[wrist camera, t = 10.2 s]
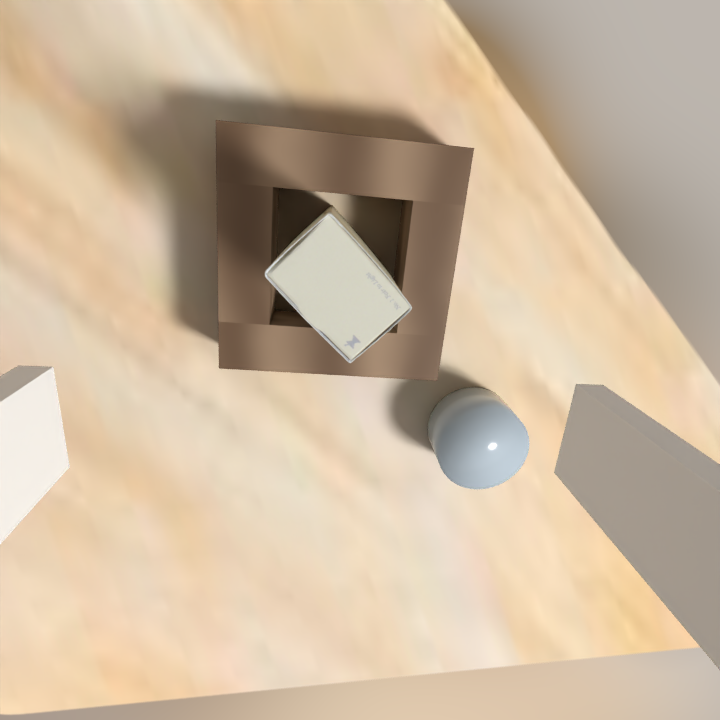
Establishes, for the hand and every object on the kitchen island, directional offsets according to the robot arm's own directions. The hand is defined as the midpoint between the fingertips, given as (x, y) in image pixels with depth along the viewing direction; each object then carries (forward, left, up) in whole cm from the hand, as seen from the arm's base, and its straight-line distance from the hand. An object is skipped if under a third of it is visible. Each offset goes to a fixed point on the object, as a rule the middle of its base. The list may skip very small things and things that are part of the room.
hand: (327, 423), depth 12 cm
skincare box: (+1, +1, -23) cm, 23 cm away
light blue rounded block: (+13, -12, -23) cm, 29 cm away
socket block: (+1, +1, -23) cm, 23 cm away
